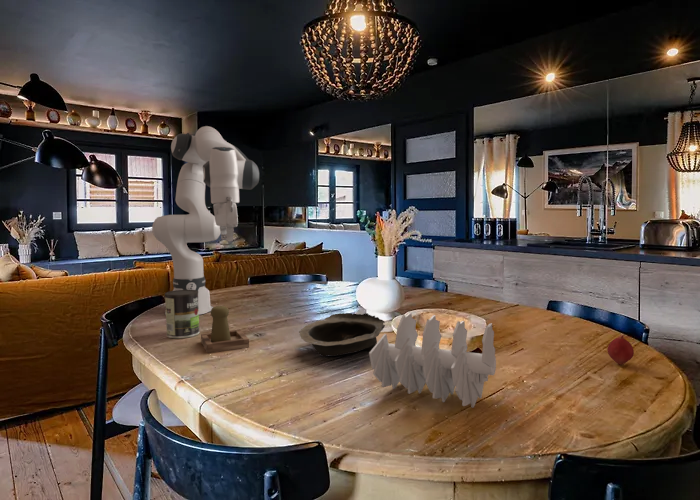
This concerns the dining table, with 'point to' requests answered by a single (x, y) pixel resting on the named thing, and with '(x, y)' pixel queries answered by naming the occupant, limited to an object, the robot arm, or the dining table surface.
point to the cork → (220, 324)
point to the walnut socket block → (225, 342)
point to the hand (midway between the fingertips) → (227, 240)
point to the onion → (620, 350)
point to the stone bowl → (343, 333)
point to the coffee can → (182, 313)
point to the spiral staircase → (434, 361)
